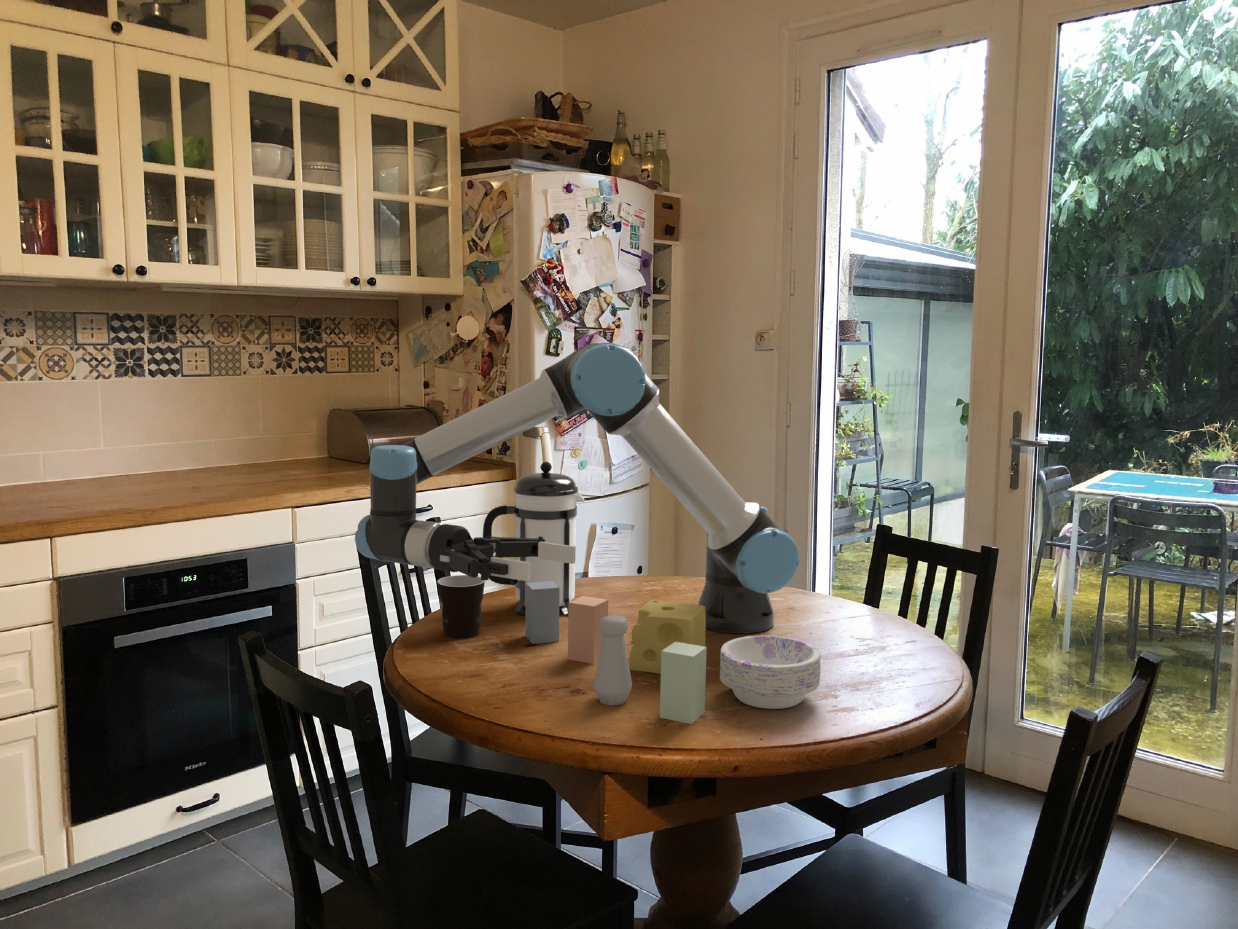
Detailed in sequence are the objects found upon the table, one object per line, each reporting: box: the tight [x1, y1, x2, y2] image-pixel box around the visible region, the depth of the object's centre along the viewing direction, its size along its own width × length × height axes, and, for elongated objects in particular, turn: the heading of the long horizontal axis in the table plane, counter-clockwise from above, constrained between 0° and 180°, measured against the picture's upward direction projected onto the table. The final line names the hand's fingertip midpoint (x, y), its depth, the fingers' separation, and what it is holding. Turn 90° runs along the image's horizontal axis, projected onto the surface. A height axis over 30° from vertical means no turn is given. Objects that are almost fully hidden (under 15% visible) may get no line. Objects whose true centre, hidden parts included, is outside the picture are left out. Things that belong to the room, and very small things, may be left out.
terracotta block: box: [567, 595, 609, 665], centre depth 167 cm, size 5×5×10 cm
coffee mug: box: [436, 574, 486, 640], centre depth 181 cm, size 12×9×10 cm
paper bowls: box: [719, 634, 822, 710], centre depth 149 cm, size 15×15×8 cm
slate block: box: [524, 581, 560, 645], centre depth 177 cm, size 5×5×10 cm
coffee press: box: [482, 461, 586, 616], centre depth 195 cm, size 17×16×30 cm
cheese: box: [628, 599, 707, 675], centre depth 164 cm, size 10×11×10 cm
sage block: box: [659, 642, 708, 725], centre depth 142 cm, size 5×5×10 cm
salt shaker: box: [593, 614, 633, 706], centre depth 147 cm, size 6×6×13 cm
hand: (552, 563), depth 149 cm, fingers open, 13 cm apart
